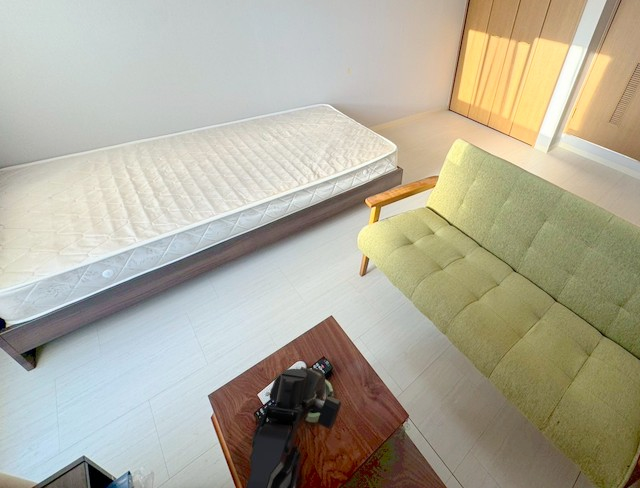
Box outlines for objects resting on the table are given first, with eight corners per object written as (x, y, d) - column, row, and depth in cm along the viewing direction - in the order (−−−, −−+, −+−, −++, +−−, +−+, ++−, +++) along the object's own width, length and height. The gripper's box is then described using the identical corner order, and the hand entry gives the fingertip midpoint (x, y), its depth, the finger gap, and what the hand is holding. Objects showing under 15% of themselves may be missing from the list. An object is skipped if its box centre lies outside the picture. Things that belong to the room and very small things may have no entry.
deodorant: (325, 412, 89) (324, 391, 80) (304, 414, 88) (301, 393, 79) (326, 389, 93) (325, 367, 85) (306, 391, 92) (303, 369, 84)
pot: (310, 431, 85) (310, 425, 83) (292, 401, 90) (291, 395, 88) (339, 403, 92) (339, 397, 89) (320, 376, 97) (320, 370, 94)
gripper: (337, 396, 71) (356, 371, 87) (271, 364, 75) (300, 345, 90) (321, 446, 70) (342, 411, 85) (253, 411, 74) (286, 383, 89)
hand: (317, 386), depth 87 cm, fingers open, 9 cm apart
